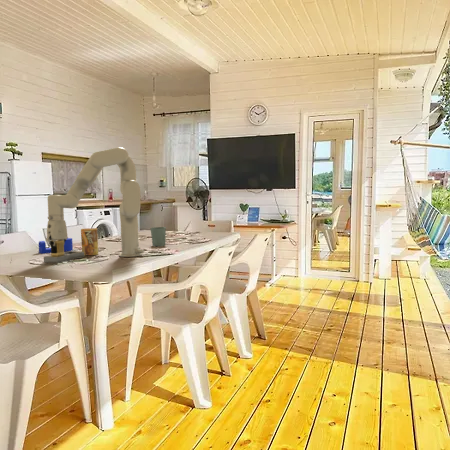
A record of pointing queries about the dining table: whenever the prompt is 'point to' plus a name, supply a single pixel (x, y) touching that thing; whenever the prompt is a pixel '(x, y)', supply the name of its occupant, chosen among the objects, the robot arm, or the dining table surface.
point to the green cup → (158, 236)
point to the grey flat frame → (64, 257)
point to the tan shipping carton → (59, 248)
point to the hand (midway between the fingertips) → (57, 252)
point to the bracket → (42, 248)
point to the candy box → (89, 241)
